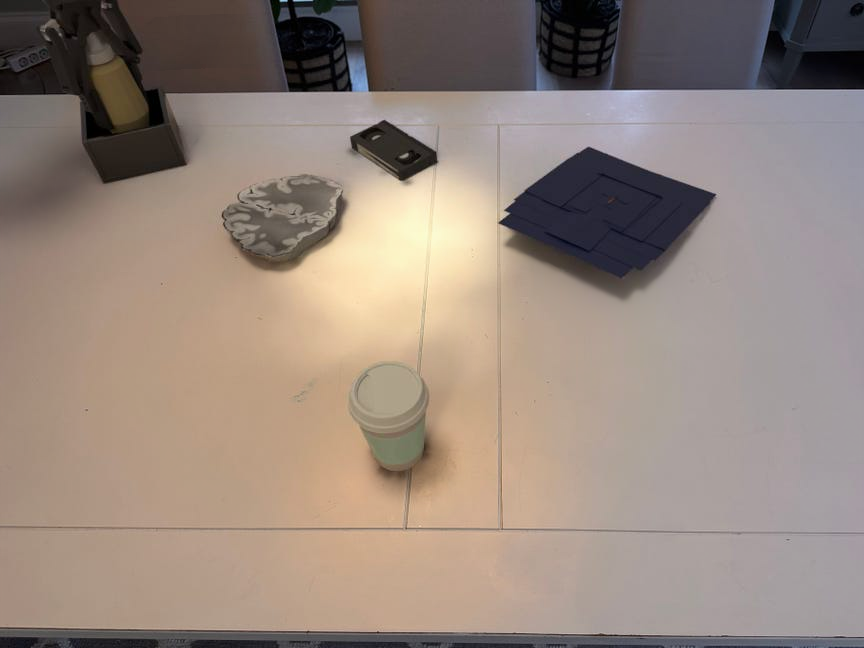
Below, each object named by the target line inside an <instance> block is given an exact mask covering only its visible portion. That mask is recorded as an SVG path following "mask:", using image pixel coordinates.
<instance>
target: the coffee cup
mask: <svg viewBox="0 0 864 648" xmlns="http://www.w3.org/2000/svg"><path fill="white" fill-rule="evenodd" d="M347 397H348V398H347V407H348V408H347V409H348V412H349V414H350V417H351V418H352V420H353V421H354V422H355V423H356V424H357V426H359V428H360V430H361V432H362V434H363V437H364V439H365V440H366V442H367V445H368V447H369V449H370V451H371V453H372V454H373V456H374V458H375V460H376V462H377V463H378V465H379V466H380V467H382V468H383V469H385V470H387V471H391V472H404V471H407V470H409V469H412V468H413V467H415V466H416V465H417V464H418V463H419V462H420V461H421V459H422V457H423V455H424V450H425V434H426V419H427V418H426V417H427V409H428V407H429V403H430V392H429V388H428V386H427V383H426V382H425V380H424V378H423V377H422V376H421V375H420V373H418V372H417V371H416V369H414V368H413V367H412V366H411V365H409V364H407V363H404V362H401V361H395V360H383V361H379V362H375V363H372V364H370V365H369V366H367V367H364V369H362V370H361V371H360V372H359V373H357V375H356V376H355V378H354V379H353V381H352V383H351V387H350V389H349V391H348V396H347Z"/></svg>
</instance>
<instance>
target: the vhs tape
mask: <svg viewBox="0 0 864 648" xmlns="http://www.w3.org/2000/svg"><path fill="white" fill-rule="evenodd" d="M349 139H350V145H351V148H352V149H353V150H354V151H356V152H357V153H359V154H360V155H362V156H364V157H365V158H366V159H368V160H369V161H371V162H372V163H373V164H375V165H376V166H378V167H380V168H381V169H383V171H385V172H387V173H388V174H390V175H391V176H393V177H394V178H396V179H397V180H398V181H402V182H403V181H405V180H407V179H408V178H410V177H412V176H414V175H416V174H418V173H420V172H421V171H423V170H425V169H428V168H429V167H430V166H432V165H434V164H437V163H438V154H437V151H436V150H435V149H433V148H432V147H430V146H428V145H426V144H425V143H423V142H422V141H420V140H418V139H416V138H415V137H414V136H412V135H410V134H408V133H407V132H405V131H404V130H402V129H400V128H399V127H397V126H395V125H394V124H393V123H391V122H389V121H387V120H386V119H383V120H380V121H379V122H377V123H376V124H373V125H371V126H369V127H367V128H365V129H363V130H361V131H358V132H357V133H355V134H352V135H351V136H349Z"/></svg>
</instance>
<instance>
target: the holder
mask: <svg viewBox="0 0 864 648" xmlns="http://www.w3.org/2000/svg"><path fill="white" fill-rule="evenodd" d="M144 90H145V92H146V94H147V97H148V99H149V103H148V108H149V121H150V126H148V127H143V128H138V129H133V130H129V131H124V132H119V133H115V134H113V133H112V132H111V131H110V130H108V129H105V128H101V127H98V125H97V123H96V121H95V119H94V117H93V115H92V113H91V112H87V111H86V110H85V108H84V106H83V104H82V102H81V101H79V111H80V114H79V115H80V131H81V133H80V134H81V143H82V146H83V148H84V150H85V152H86V153H87V156H88V157H89V159H90V161H91V163H92V165H93V166H94V169H95V171H96V172H97V174H98V176H99V178H100V180H101V182H102V184H103V185H104V184H109V183H113V182H118V181H122V180H126V179H130V178H131V179H132V178H135V177H139V176H145V175H148V174H152V173H158V172H162V171H165V170H171V169H174V168H180V167H183V166H187V161H186V157H185V152H184V147H183V143H182V138H181V134H180V128H179V125H178V123H177V122H178V121H177V119H176V118H175V115H174V113H173V110H172V108H171V105H170V102H169V100H168V97H167V95H166V92H165V90H164V87H163V85H156V86H152V87H148V88H147V87H146V88H144Z"/></svg>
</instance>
